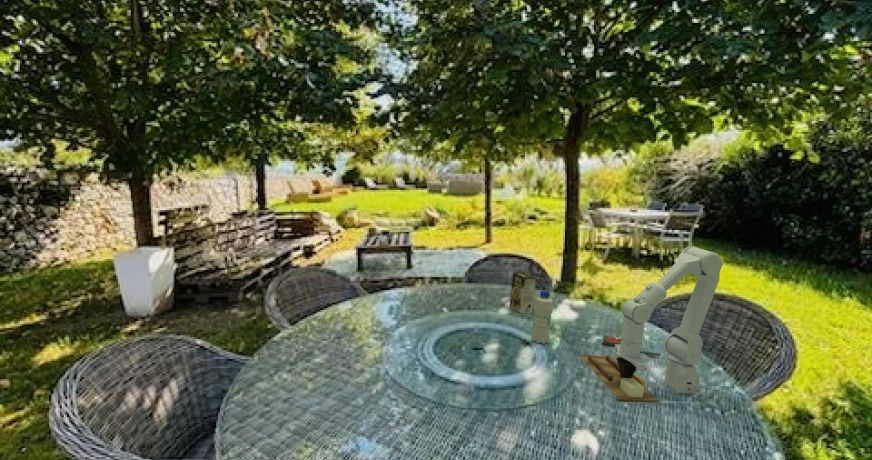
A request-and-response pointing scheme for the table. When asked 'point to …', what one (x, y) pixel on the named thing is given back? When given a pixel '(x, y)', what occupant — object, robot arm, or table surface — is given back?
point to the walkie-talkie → (614, 340)
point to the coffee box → (522, 292)
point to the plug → (632, 387)
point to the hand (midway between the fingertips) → (625, 382)
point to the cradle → (613, 377)
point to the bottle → (542, 318)
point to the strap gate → (638, 379)
